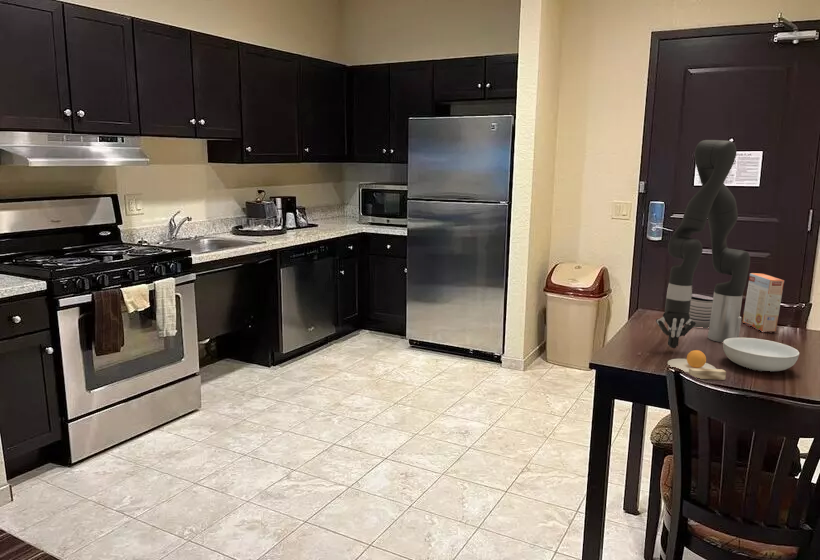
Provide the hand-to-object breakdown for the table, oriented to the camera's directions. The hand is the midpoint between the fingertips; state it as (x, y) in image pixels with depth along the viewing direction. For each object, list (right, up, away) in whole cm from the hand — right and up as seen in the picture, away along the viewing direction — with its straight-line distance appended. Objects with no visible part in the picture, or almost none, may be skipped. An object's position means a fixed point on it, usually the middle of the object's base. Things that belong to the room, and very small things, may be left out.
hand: (672, 347), depth 202 cm
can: (+26, +5, +36) cm, 44 cm away
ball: (+1, -2, -16) cm, 16 cm away
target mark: (0, -4, -14) cm, 15 cm away
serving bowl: (+22, -5, -12) cm, 25 cm away
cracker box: (+49, +3, +34) cm, 59 cm away
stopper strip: (0, -6, -24) cm, 25 cm away
